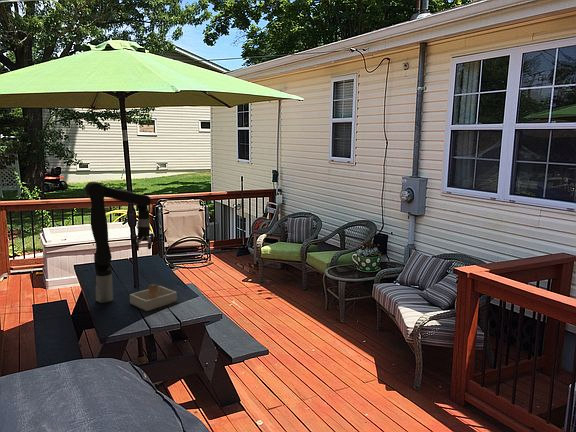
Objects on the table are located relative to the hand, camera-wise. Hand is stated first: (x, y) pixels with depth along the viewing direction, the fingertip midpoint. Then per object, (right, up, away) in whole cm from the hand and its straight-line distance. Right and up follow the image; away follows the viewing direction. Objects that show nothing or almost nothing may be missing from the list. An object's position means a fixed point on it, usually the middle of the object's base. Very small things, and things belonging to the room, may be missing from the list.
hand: (143, 249), depth 300 cm
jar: (+11, -31, -13) cm, 35 cm away
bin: (+11, -32, -13) cm, 36 cm away
